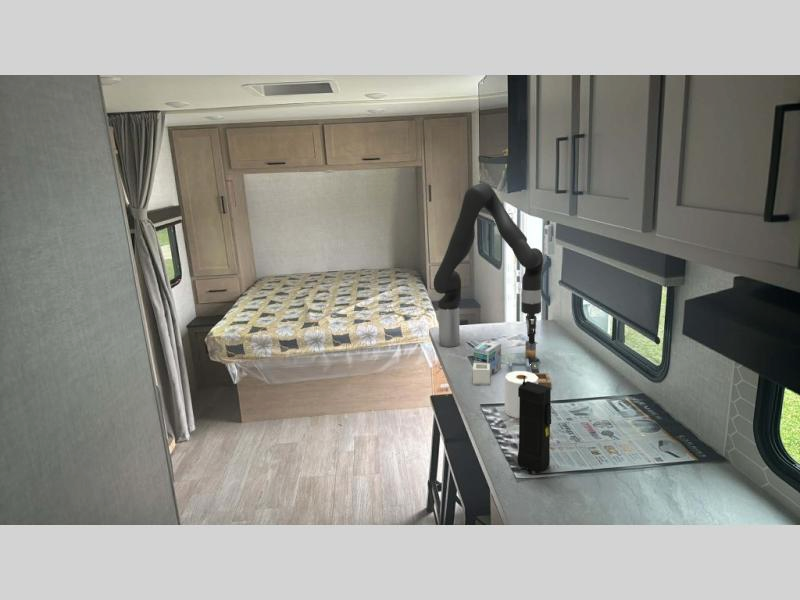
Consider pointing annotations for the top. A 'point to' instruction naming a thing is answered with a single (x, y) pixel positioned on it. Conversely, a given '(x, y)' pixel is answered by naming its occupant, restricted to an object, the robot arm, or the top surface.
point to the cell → (530, 352)
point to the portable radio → (534, 426)
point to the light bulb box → (489, 355)
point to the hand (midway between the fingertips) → (530, 340)
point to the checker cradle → (522, 366)
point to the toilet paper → (515, 390)
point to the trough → (543, 379)
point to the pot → (481, 374)
